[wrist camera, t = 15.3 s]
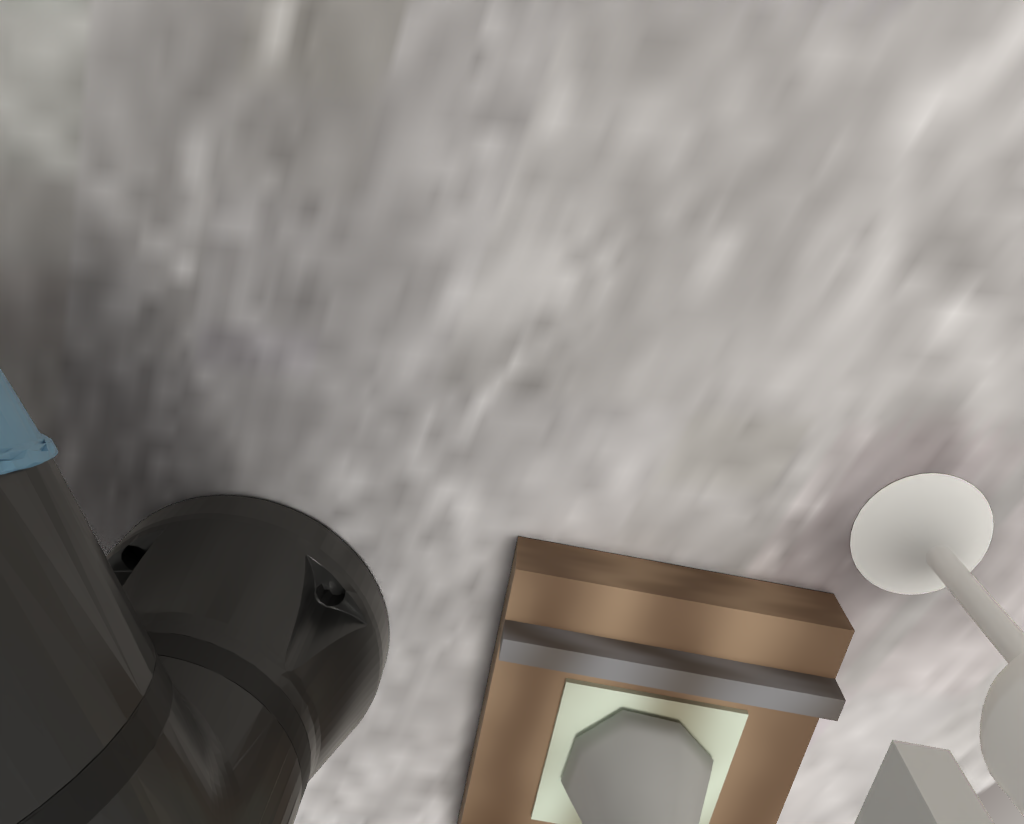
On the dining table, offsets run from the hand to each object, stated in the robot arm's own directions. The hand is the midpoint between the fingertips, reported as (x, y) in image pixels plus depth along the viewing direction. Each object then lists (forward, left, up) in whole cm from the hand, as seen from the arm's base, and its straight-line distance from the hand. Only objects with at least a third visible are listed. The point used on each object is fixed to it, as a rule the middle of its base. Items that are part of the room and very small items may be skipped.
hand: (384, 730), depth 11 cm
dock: (+11, -22, -27) cm, 36 cm away
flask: (+11, -22, -24) cm, 34 cm away
